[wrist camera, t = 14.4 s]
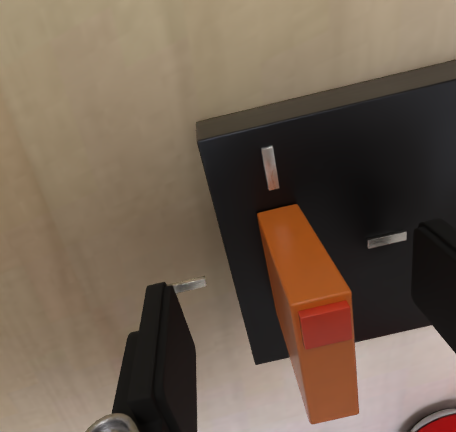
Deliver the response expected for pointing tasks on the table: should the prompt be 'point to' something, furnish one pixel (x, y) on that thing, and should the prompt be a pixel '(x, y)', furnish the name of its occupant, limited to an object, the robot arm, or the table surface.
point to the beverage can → (438, 422)
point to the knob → (311, 313)
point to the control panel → (336, 191)
